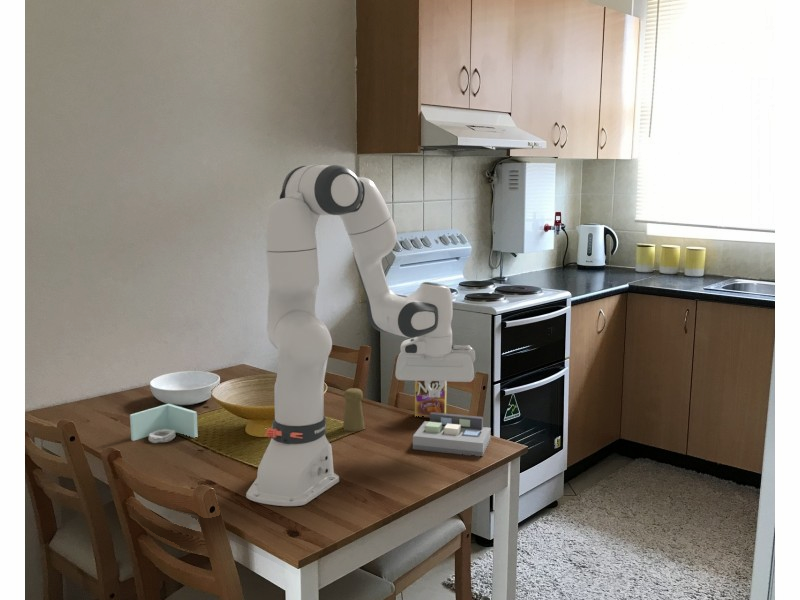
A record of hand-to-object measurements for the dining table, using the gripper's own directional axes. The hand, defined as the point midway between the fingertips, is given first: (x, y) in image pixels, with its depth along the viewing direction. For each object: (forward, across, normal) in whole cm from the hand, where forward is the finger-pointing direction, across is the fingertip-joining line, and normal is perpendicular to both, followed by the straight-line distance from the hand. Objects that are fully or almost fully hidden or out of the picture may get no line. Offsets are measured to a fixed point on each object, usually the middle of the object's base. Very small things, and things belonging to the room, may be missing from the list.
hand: (434, 396), depth 189 cm
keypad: (+12, -5, +1) cm, 13 cm away
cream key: (+10, -5, +1) cm, 11 cm away
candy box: (+13, +2, -22) cm, 25 cm away
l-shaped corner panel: (+13, +71, +4) cm, 72 cm away
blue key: (+11, -10, +2) cm, 15 cm away
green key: (+10, 0, 0) cm, 10 cm away
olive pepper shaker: (+13, +23, -10) cm, 28 cm away
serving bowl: (+12, +78, -29) cm, 84 cm away
